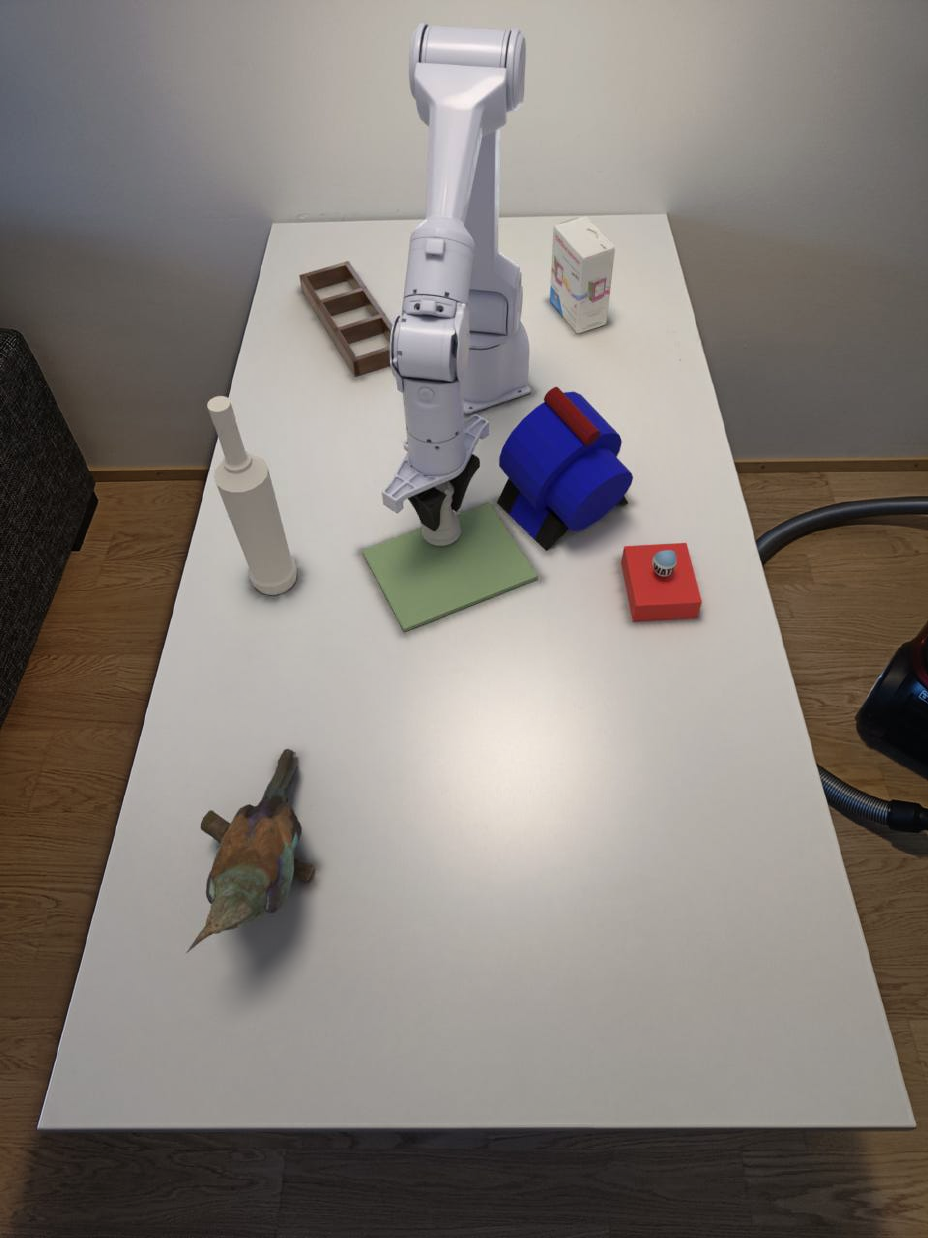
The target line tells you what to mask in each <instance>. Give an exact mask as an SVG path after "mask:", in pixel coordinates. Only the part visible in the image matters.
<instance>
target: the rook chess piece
mask: <svg viewBox="0 0 928 1238" xmlns="http://www.w3.org/2000/svg"><path fill="white" fill-rule="evenodd" d="M435 488H436V489H438V490H440V491H441V492H443V493H445V494H446V495H447V496H446V497H445V499H444V501H443V503H442V506H441V511H440V526H439V528H438V529H437V530H436V531H432V530H431V529H429V528H427V527H426V526H424V525H423V524H421V528H422V535H423V537H424V539H425V540H426V541H428V542H429V543H431V544H433V545H436V546H446V545H449V544H451V543H453V542H454V541H455V540H457V539H458V537H459V535H460V534H461V527H460V521H459V519H458V517H457V515H458V514H455V511H454V510H452V508H451V503H452V495H453V493H454V487H453V485H452V484H451V483H450V482H449V481H446V482H444V483H442V484H439V485H437V486H435Z"/></svg>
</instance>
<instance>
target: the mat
mask: <svg viewBox="0 0 928 1238" xmlns="http://www.w3.org/2000/svg"><path fill="white" fill-rule="evenodd" d="M456 515H457V517H458V519H459V521H460V527H461V534H460V535H459V537H458V539H457V540H455V541H454V542H453V543H451V544H449V545H446V546H436V545H433V544H431V543H429V542H428V541H426V540H425V539H424V537H423V535H422V527H420V528H418V529H415V530H412V531H409V532H407V533H404V534H401V535H399V536H396V537H393V538H390V539H388V540H385V541H383V542H379V543H377V544H374V545H372V546H369V547H366V548H364V549H362V550H361V552H362V556H363V557H364V559H365V561H366V563H367V564H368V566H369V568H370V570H371V572H372V575H373V576H374V578H375V580H376V581H377V584H378V585H379V587H380V589H381V591H382V593H383V594H384V597H385V598H386V601H387V603H388V604H389V606H390V608H391V610H392V613H393V614H394V616H395V618H396V619H397V621H398V623H399V625H400V627H401V629H402V631H403V632H404V633H405V632H408V631H410V630H413V629H415V628H419V627H421V626H423V625H426V624H428V623H431V622H434V621H436V620H438V619H441V618H444V617H446V616H447V615H450V614H454V613H456V612H458V611H461V610H463V609H466V608H468V607H471V606H473V605H476V604H479V603H480V602H483V601H487V600H488V599H492V598H493V597H496V596H499V595H501V594H503V593H506V592H508V591H511V590H514V589H516V588H518V587H521V586H524V585H526V584H528V583H531V582H534V581H536V580H538V579H539V576H538V574H537V572H536V571H535V569H534V568H533V566H532V565H531V563H530V562H529V560H528V559H527V557H526V556H525V554H524V553H523V551H522V550H521V548H520V547H519V545H518V544H517V542H516V541H515V539H514V537H513V536H512V535H511V533H510V532H509V530H508V528H507V527H506V525H505V524H504V523H503V521H502V519H501V518H500V516H499V515H498V513H497V512H496V510H495V509H494V507H493V506H492V504H491V503H490V502H488V503H485V504H483V505H479V506H478V507H474V508H472V509H469V510H466V511H464V512H460V513H459V514H456Z"/></svg>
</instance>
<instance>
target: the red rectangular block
mask: <svg viewBox="0 0 928 1238" xmlns="http://www.w3.org/2000/svg"><path fill="white" fill-rule="evenodd" d="M620 564H621V570H622V574H623V579H624V584H625V585H624V586H625V590H626V594H627V599H628V605H629V610H630V614H631V620H632V622H646V621H664V620H666V621H667V620H682V619H697V618H698V616H699V612H700V609H701V606H702V603H703V601H702V597H701V594H700V593H701V592H700V590H699V585H698V581H697V578H696V574H695V571H694V566H693V563H692V558H691V554H690V551H689V546H688V543H687V542H676V543H675V542H674V543H658V544H657V543H656V544H655V543H654V544H640V545H639V544H638V545H624V546H623V550H622V555H621V561H620Z"/></svg>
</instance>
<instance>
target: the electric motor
mask: <svg viewBox="0 0 928 1238" xmlns="http://www.w3.org/2000/svg"><path fill="white" fill-rule="evenodd" d="M622 443H623V441H622V438H621V435H620V434H619V433H618V432H617V430H616V429H615V428H614V427H612V426H611V424H610V423H609V422H608V421H607V420H606V419H605V418H604V417H603V416H602V415H601V414H600V413H599V412H598V411H597V410H596V409H595V407H593V406H592V404H591V403H590V402H589V401H588V400H587V399H586V398H585V397H584V396H583V394H580V393H579V392H576V391H562V390H561V388H559V387H558V386H553V387H552V388H550V390H548V391H547V392H546V393H545V394H544V396H543V402H542V403H541V404H539V405H538V406H536V407H534V409H533V410H531V411H530V412H529V413H528V414H526V415H525V417H523V418H522V419H521V420H520V422H519V423H518V424H517V425H516V426H515V428H513V430H512V431H511V433H510V434H509V436H508V437H507V439H506V440H505V442H504V444H503V445H502V448H501V451H500V453H499V456H498V466H499V468H500V470H501V471H502V472H503V473H504V474H505V475H506V476H507V480H506V482H505V484H504V486H503V488H502V491H501V492H500V495H499V497H498V499H497V501H496V503H497V505H498V506H500V508H501V509H502V510H504V511H505V513H507V514H508V515H509V516H510V517H511V519H513V520H514V521H515V522H516V523H517V524H518V525H519V526H520V527H521V528H522V529H523V530H524V531H525V532H526V533H527V534H528V535H529V536H530V537H531V538H532V539H534V540H535V542H536V543H537V544H538V545H540V546H541V547H542V548H543V549H544V550H545V551H548V550H549V549H550V548H551V547H552V546H553V545H555V544H556V542H558V540H560V539H561V538H562V537H563V536H564V535H565V534H566V533H567V532H568V531H570V532H575V533H576V532H579V531H583V530H585V529H587V528H589V527H591V526H592V525H594V524H596V523H597V522H599V521H600V520H602V519H603V518H604V517H605V516H606V515H608V514H609V513H610V512H611V511H612V510H614V508H615V507H617V506H622V505H628V504H629V501H628V500H627V498H626V496H625V495H626V494H627V493H628V491H629V490H630V488H631V486H632V484H633V480H634V475H633V473H632V472H631V471H630V470H629V469H628V468H627V466H626V465H625V464H624V463H623V462H622V461H621V460H620V459H619V458H618V455H619V454H620V452H621V447H622Z"/></svg>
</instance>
